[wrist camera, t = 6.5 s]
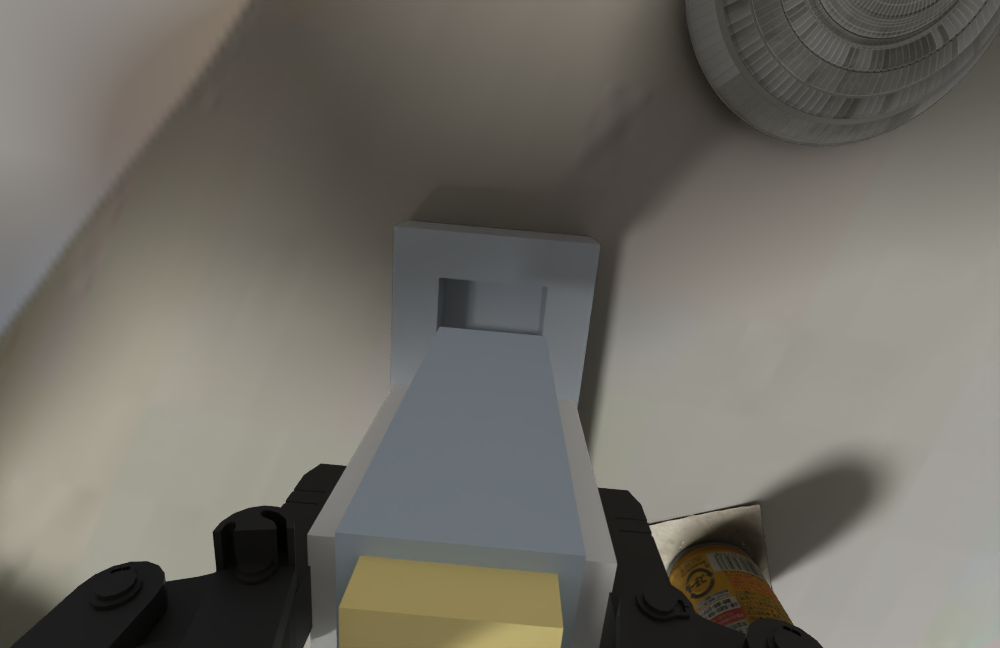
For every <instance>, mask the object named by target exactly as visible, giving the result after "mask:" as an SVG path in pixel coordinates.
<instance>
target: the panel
mask: <svg viewBox="0 0 1000 648" xmlns="http://www.w3.org/2000/svg"><path fill="white" fill-rule="evenodd" d="M600 247H601V245H600V244H599V243H598V242H596V241H595V240H594V239H593V238H591V237H590V236H579V235H567V234H556V233H545V232H533V231H522V230H511V229H500V228H488V227H477V226H466V225H455V224H443V223H432V222H421V221H409V220H408V221H406V222H403V223H401V224H398V225H396V226H394V239H393V282H392V324H391V367H390V391H391V390H392V388H393V386H394V385H404V386H410V384H411V382H412V380H413V378H414V376H415V374H416V372H417V370H418V368H419V366H420V364H421V362H422V360H423V359H424V357H425V355H426V353H427V351H428V349H429V347H430V345H431V343H432V341H433V339H434V337H435V335H436V333H437V331H438V329H439V327H449V328H460V329H471V330H482V331H493V332H504V333H515V334H526V335H537V336H546V340H547V346H548V351H549V357H550V362H551V368H552V373H553V379H554V384H555V390H556V395H557V400H568V401H575V403H576V406H577V408H578V401H579V394H580V387H581V380H582V373H583V366H584V359H585V352H586V345H587V338H588V331H589V324H590V317H591V310H592V303H593V296H594V289H595V282H596V275H597V268H598V261H599V254H600Z"/></svg>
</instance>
